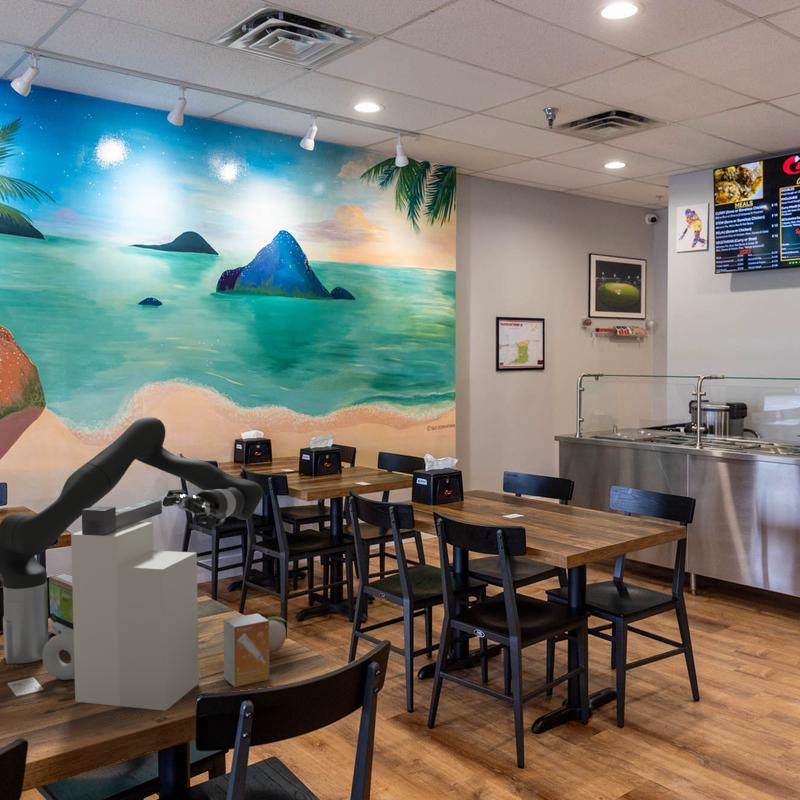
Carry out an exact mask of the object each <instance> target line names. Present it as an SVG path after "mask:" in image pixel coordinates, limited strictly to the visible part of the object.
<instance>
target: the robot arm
mask: <svg viewBox="0 0 800 800" xmlns="http://www.w3.org/2000/svg"><path fill="white" fill-rule="evenodd" d="M165 438H166V427H165V425H164V423H163V422H162V420H160V419H159V418H157V417H153V416H146V417H141V418H138V419H137V420H135V421H134V422H133V423H131V424H130V426H129V427H127V428H126V430H125V431H124V432H123V433H121V435H120V436H119V437H117V438H116V440H114V441H113V442H112V443H110V444H109V445H108V446H107V447H105V448H104V449H103V450H101V451H100V452H99V453H97V454H96V455H95V456H94V457H93V458H92V459H90V460H89V461H87V462H86V463H84V464H83V465H81V466H80V467H79V468H78V469H76V470H75V471H74V472H73V473H72V474H71V475H70V476H69V477H68V478H67V479H66V481H65V483H64V484H63V487H62V490H61V492H60V494H59V496H58V497H57V498H56V500H55V501H54V502H53V503H52V504H50V505H49V506H47V507H46V508H44V509H43V510H42V511H41V512H38V513H37V514H30V513H29V514H26V513H19V512H17V513H12V514H9V515H7V516H5V517H3V519H2V520H1V522H0V576H1V578H2V587H3V588H2V589H3V616H2V629H3V631H2V632H3V633H2V634H3V635H2V636H3V657H4V660H5V663H6V664H7V665H11V664H28V663H34V662H37V661H40V660H42V653H43V649H44V646H45V644H46V643H47V642H48V641H49V640H50V639H49V607H48V606H49V603H48V598H49V596H48V572H47V570H46V568H45V567H44V566H43V565H42V564H40V563H39V562H38V560H37V558H36V556H39V555H41V554H42V553H45V552H46V551H47V550H48V549H49V548H50V547H51V546H52V545H53V544H54V543H56V541H57V540H58V539H59V538H60V537H61V536H62V534H64V533H65V531H66V530H67V529H68V528H70V526H71V525H72V524H74V522H75V521H77V520H78V519H79V518H80V517H82V510H83V509H86V508H89V507H93V506H94V505H95V504H97V503H98V502H99V501H101V500H102V499H103V498H104V497H105V496H107V495H108V494H109V493H110V492H111V491H112V490H113V489H114V488H115V487H116V486H117V485H118V483H119V482H120V481H121V479H122V478H123V477H124V475H125V474H126V472H127V471H128V469H129V468H130V466H131V465H132V464H133V462H135V460H136V461H138V462H141V463H143V464H145V465H148V466H150V467H152V468H155V469H157V470H160V471H163V472H165V473H168V474H170V475H173V476H176V477H178V478H180V479H182V480H184V481H186V482H189V483H190V484H191V485H194V486H196V487H197V488H199V489H201V491H200V492H198V493H197V494H196V495H190V494H186V490H185V489H169V490H168V491H167V494H166V496H164V498H163V500H162V507H172V506H174V507H175V506H176V507H178V509H180V510H183V511H188V512H189V513H192V514H194V515H193V517H192V520H191V522H192V523H193V524H205V525H206V524H207V523H208V526H209V527H211V528H213V527H218V526H221V525H224V522H225V520H226V518H228V517H233V518H234V517H235V518H237V519H238V520H242V521H247V520H248V519H250V518H252V516H253V514H254V513H255V512H256V509H257V507H258V506H259V504H260V502H261V500H262V498H263V496H264V489H263V488H262V486H261V485H260V484H259V483H257V482H255V481H253V480H249V479H246V478H242V477H237V476H234V475H232V474H230V473H227V472H225V471H224V470H222V469H220V468H218V467H217V466H215V465H213V464H212V463H210V462H207V461H205V460H201V459H197V458H196V459H195V458H186V457H181V456H179V455H177V454H174V453H172V452H170V451H169V450H167V449H166V448H165V447H163V446H164V442H165ZM184 504H185V505H184Z"/></svg>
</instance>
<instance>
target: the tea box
mask: <svg viewBox="0 0 800 800" xmlns="http://www.w3.org/2000/svg"><path fill="white" fill-rule="evenodd" d="M48 587H49V589H48V590H49V612H50V632H51V631H52V632H51V634H54V635H55V636H56V635H58V634H65V633H66V634H70V635H74V627H73V589H72V571H71V572H68V573H63V574H58V575H54V576H49V577H48Z"/></svg>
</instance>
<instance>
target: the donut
mask: <svg viewBox="0 0 800 800" xmlns="http://www.w3.org/2000/svg"><path fill="white" fill-rule="evenodd" d="M60 651H65V652H67V653H69V655H70V661H69V663H66V662H64V661H63V660H61V658H60ZM41 660H42V664H43V666H44V668H45V670H46V672H47V673H48V674H49V675H50V676H52V677H54V678H56V679H58V680H62V681H67V680H72V679H75V666H74V635H70V634H66V633H65V634H58V635H56V634H55V635H54V636H52V637H51V638H50V639H49V641H48V642H47V643H46V644H45V646H44V649H43V653H42V659H41Z"/></svg>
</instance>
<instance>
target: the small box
mask: <svg viewBox="0 0 800 800" xmlns="http://www.w3.org/2000/svg"><path fill="white" fill-rule="evenodd" d="M223 676H224V677H223V679H225V680H226V681H227V682H228V683H229V684H230V685H232V686H233V687H234V688H237V687H241V686H246V685H249V684H254V683H258V682H264V681H269V680H270V655H269V620H267V619H266V617H265V616H262V615H261V614H259V613H253V614H247V615H246V614H245V615H239V616H236V617H231V618H226V619H223ZM268 679H269V680H268Z"/></svg>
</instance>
